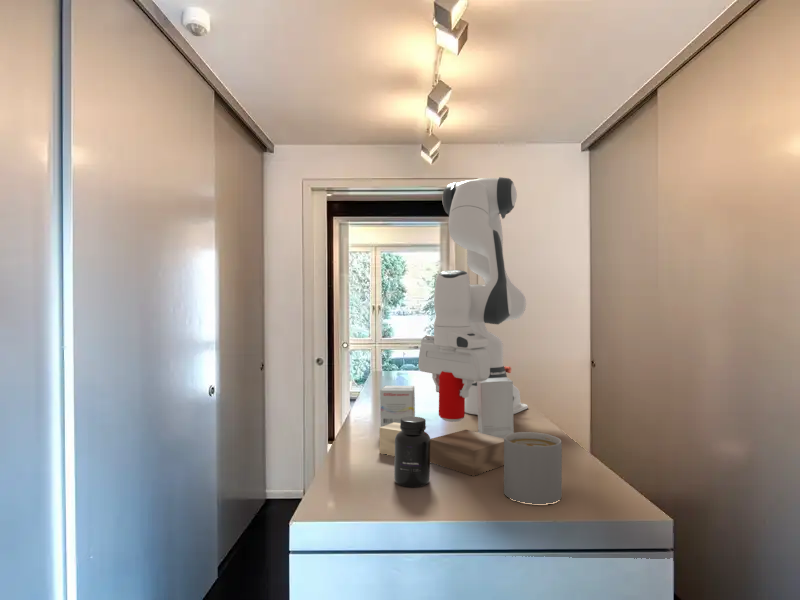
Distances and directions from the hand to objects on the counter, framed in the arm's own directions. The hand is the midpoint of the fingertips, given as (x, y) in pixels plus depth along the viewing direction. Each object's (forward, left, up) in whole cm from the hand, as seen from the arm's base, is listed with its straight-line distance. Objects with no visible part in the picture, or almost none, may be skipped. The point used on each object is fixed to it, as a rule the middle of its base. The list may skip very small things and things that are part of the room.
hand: (451, 394), depth 126 cm
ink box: (+2, -18, -12) cm, 21 cm away
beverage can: (0, 0, -6) cm, 6 cm away
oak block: (+15, -4, -12) cm, 19 cm away
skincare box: (-12, +3, -12) cm, 18 cm away
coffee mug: (+14, +30, -12) cm, 35 cm away
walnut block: (+9, +12, -12) cm, 19 cm away
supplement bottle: (+26, +12, -12) cm, 31 cm away
